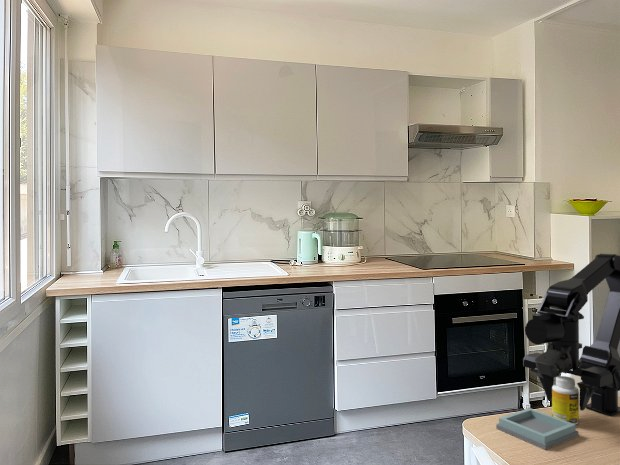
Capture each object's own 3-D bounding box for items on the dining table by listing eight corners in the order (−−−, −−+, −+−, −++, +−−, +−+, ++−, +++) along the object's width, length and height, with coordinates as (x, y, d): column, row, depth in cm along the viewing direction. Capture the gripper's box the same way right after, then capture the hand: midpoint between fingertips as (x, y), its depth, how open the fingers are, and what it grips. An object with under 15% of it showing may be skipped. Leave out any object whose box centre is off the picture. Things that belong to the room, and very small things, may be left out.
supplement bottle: (571, 428, 107) (570, 384, 107) (547, 420, 112) (547, 377, 112) (583, 422, 110) (583, 379, 110) (560, 414, 115) (559, 373, 115)
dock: (529, 417, 114) (529, 407, 114) (578, 436, 103) (578, 424, 103) (496, 428, 108) (496, 417, 108) (545, 449, 97) (545, 437, 97)
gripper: (508, 335, 115) (509, 399, 115) (585, 353, 99) (585, 426, 99) (536, 330, 120) (537, 390, 121) (613, 345, 104) (614, 415, 104)
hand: (565, 404), depth 111 cm, fingers open, 8 cm apart
